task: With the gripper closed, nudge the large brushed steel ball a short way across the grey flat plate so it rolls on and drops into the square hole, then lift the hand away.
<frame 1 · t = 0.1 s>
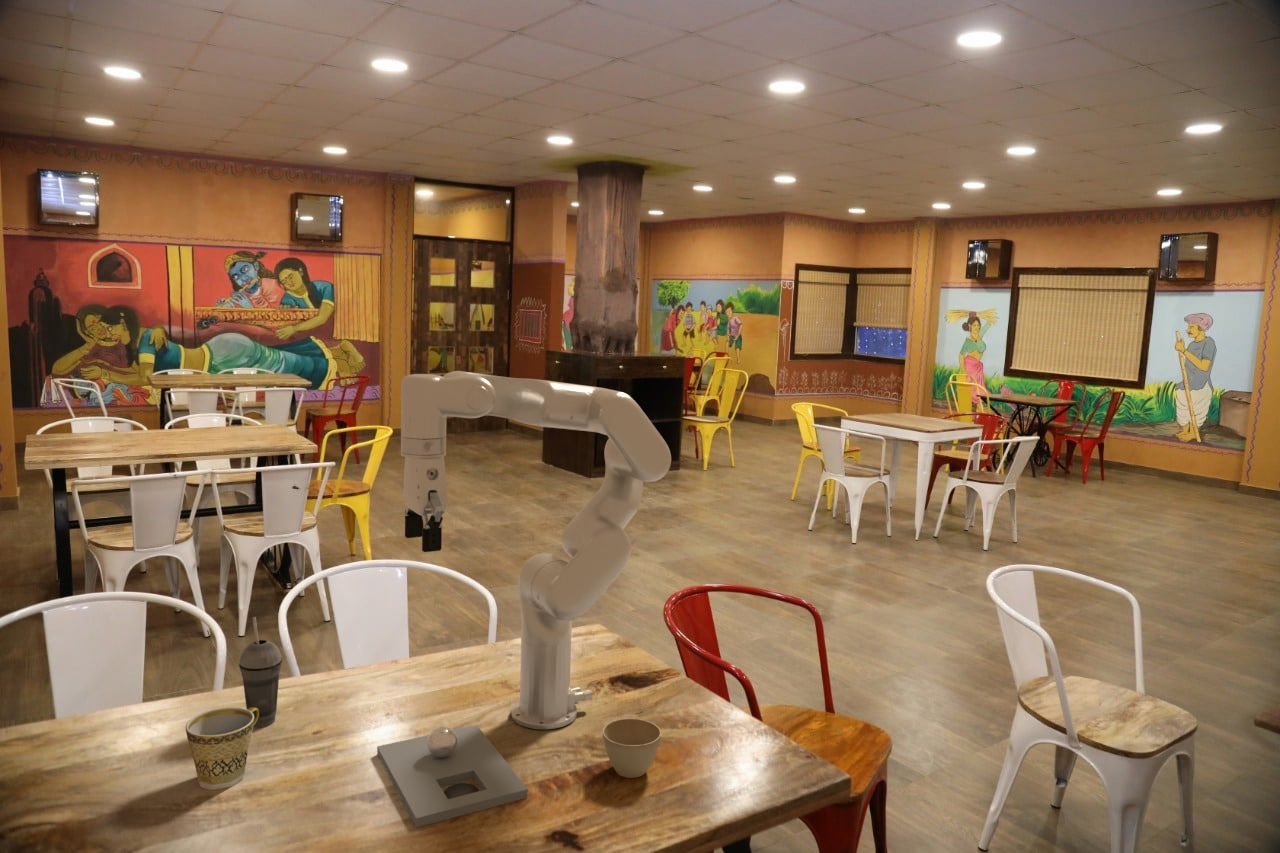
hand: (422, 543, 151), 37 cm above the table, tool pointing down, fingers open, 9 cm apart
flower pot: (630, 771, 149), on the table
ceramic cup: (229, 775, 143), on the table
beverage cup: (262, 722, 161), on the table
grey flat plate: (449, 775, 145), on the table
ball: (442, 742, 148), point 4 cm above the table, touching grey flat plate
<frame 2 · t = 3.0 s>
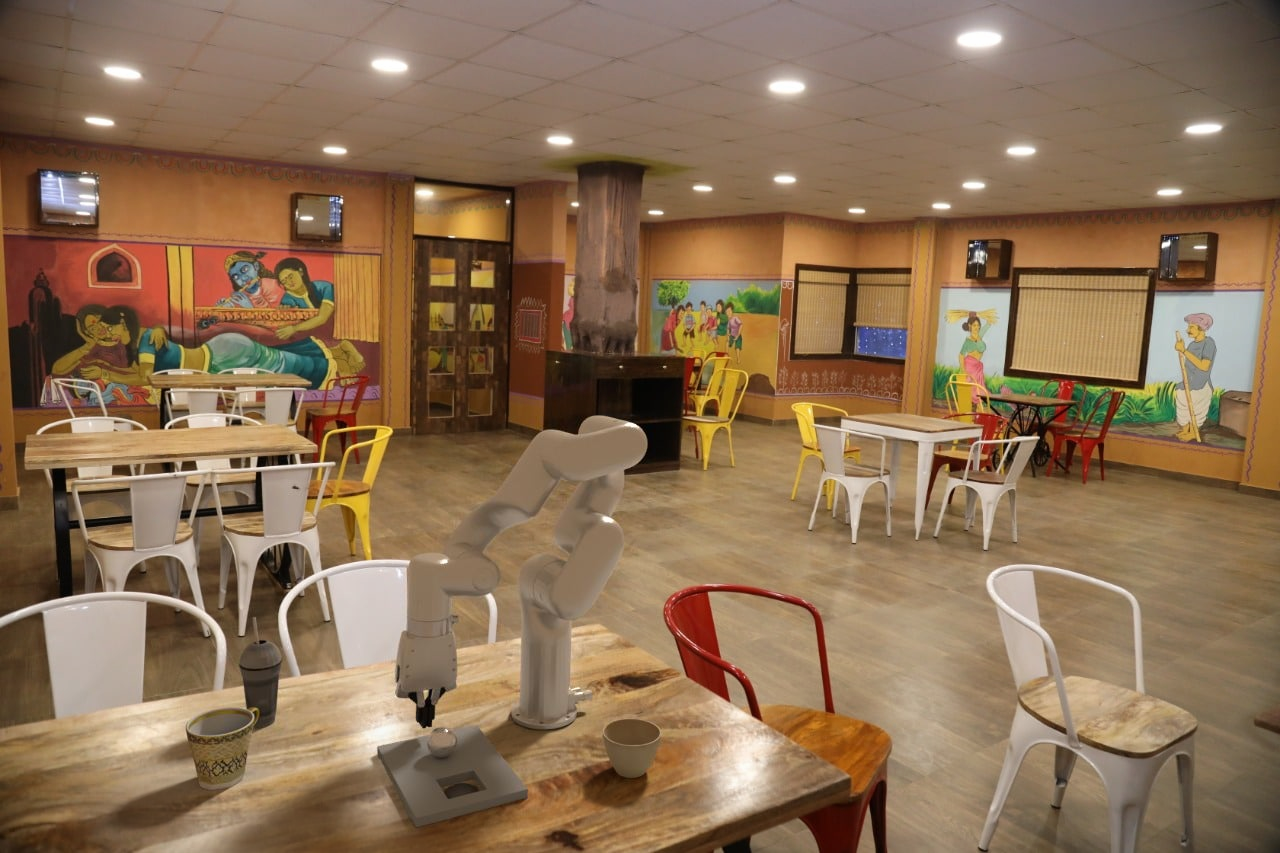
hand: (424, 724, 154), 4 cm above the table, tool pointing down, fingers closed
nothing on the table moved.
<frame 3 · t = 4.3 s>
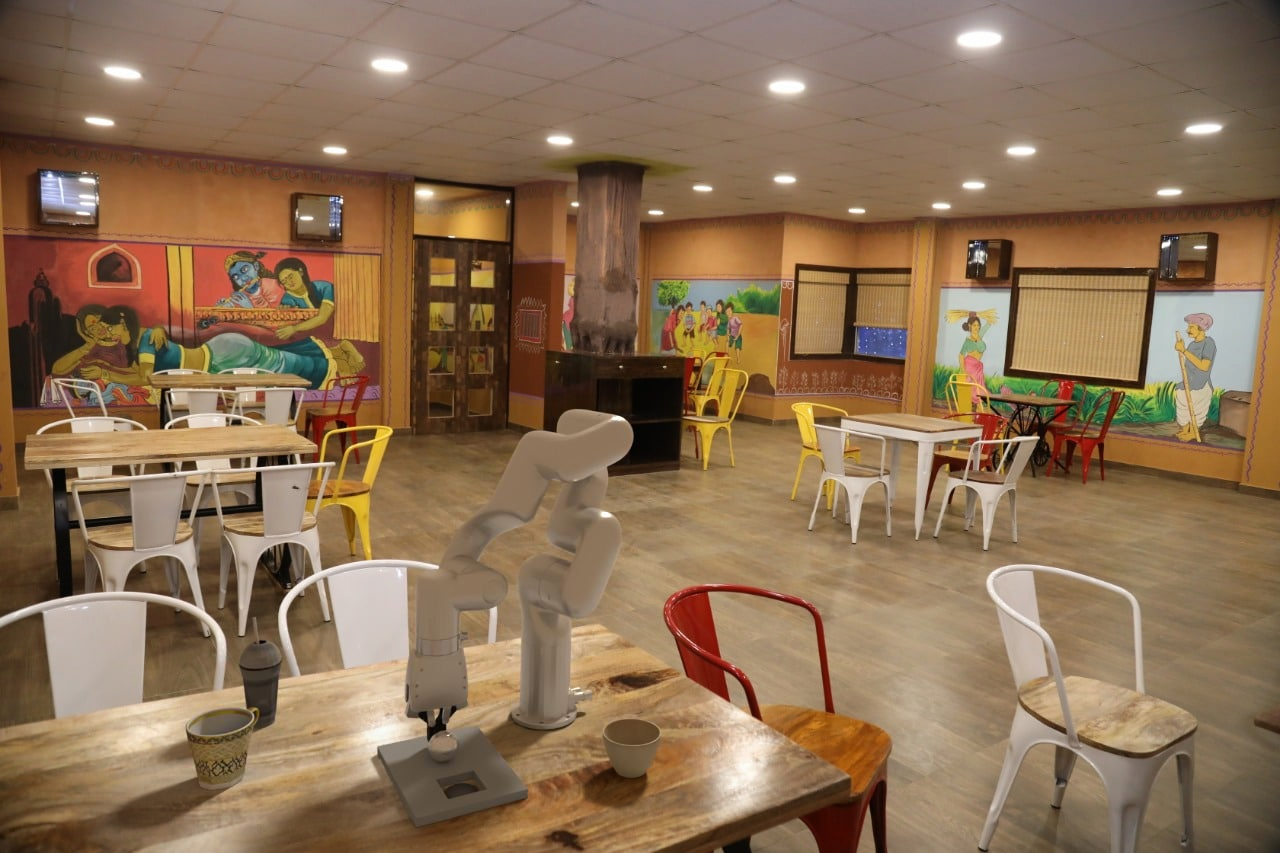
hand: (436, 743, 150), 2 cm above the table, tool pointing down, fingers closed
ball: (443, 746, 146), point 4 cm above the table, tilted 31°, touching grey flat plate
everything else where it was.
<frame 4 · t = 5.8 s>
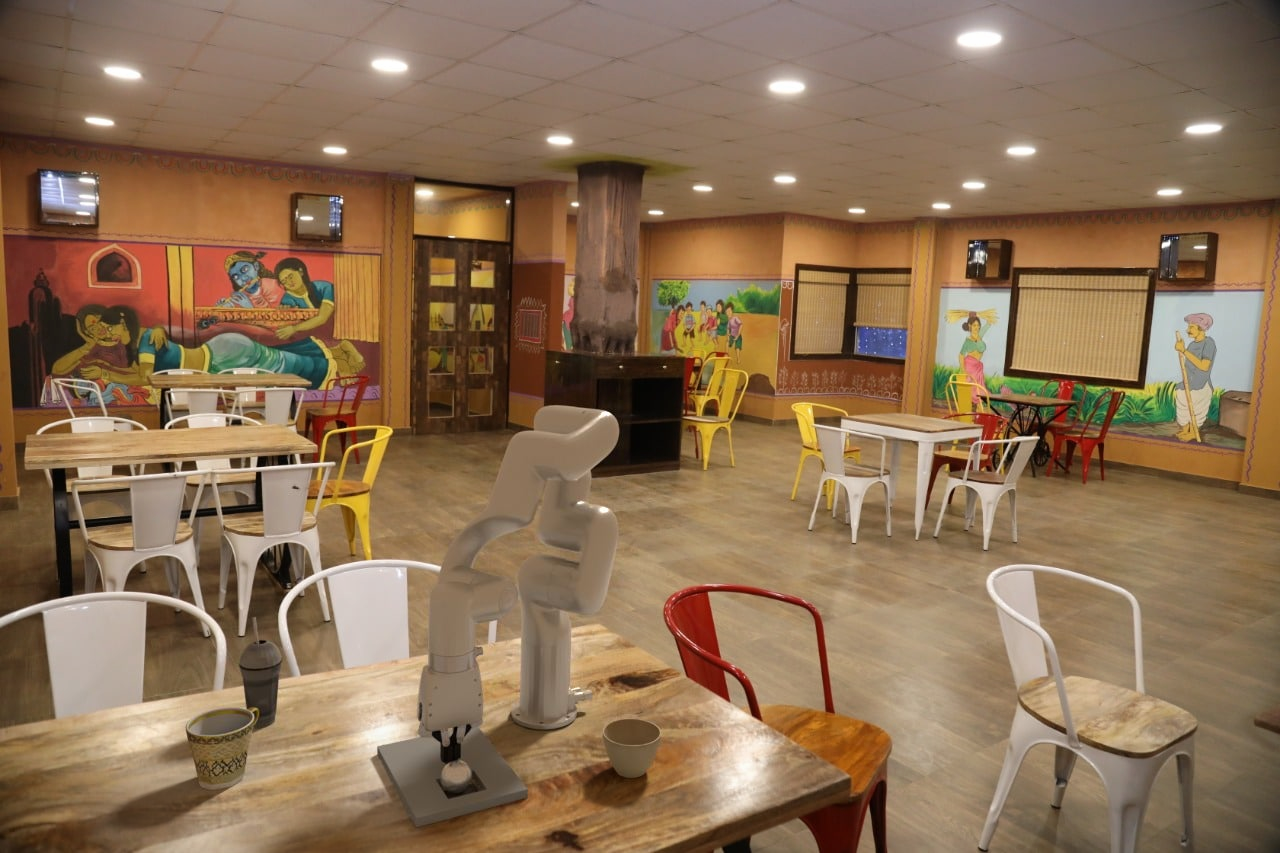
hand: (450, 763, 144), 2 cm above the table, tool pointing down, fingers closed
ball: (456, 776, 140), point 3 cm above the table, tilted 138°, touching grey flat plate
everything else where it was.
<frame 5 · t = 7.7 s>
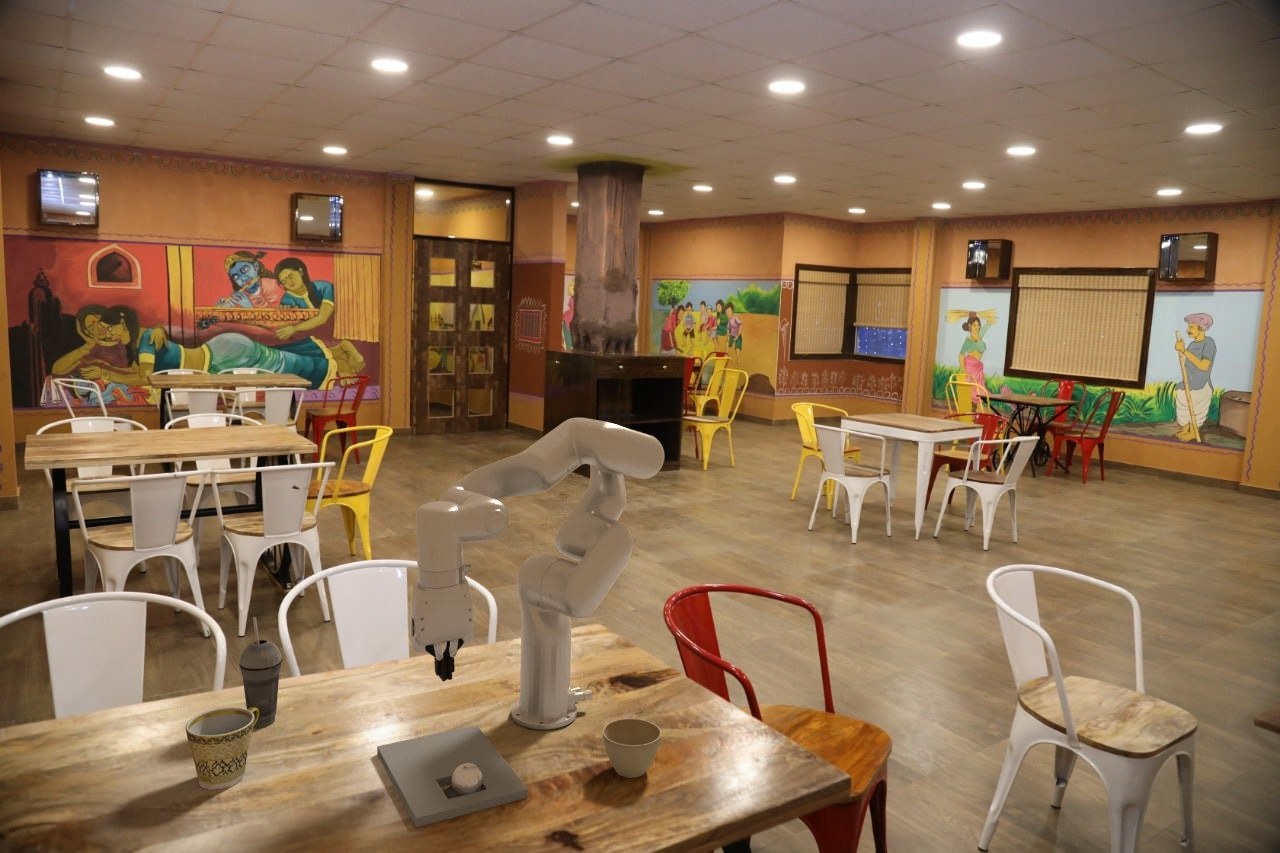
hand: (445, 677, 149), 14 cm above the table, tool pointing down, fingers closed
ball: (467, 779, 139), point 3 cm above the table, tilted 97°, touching grey flat plate
everything else where it was.
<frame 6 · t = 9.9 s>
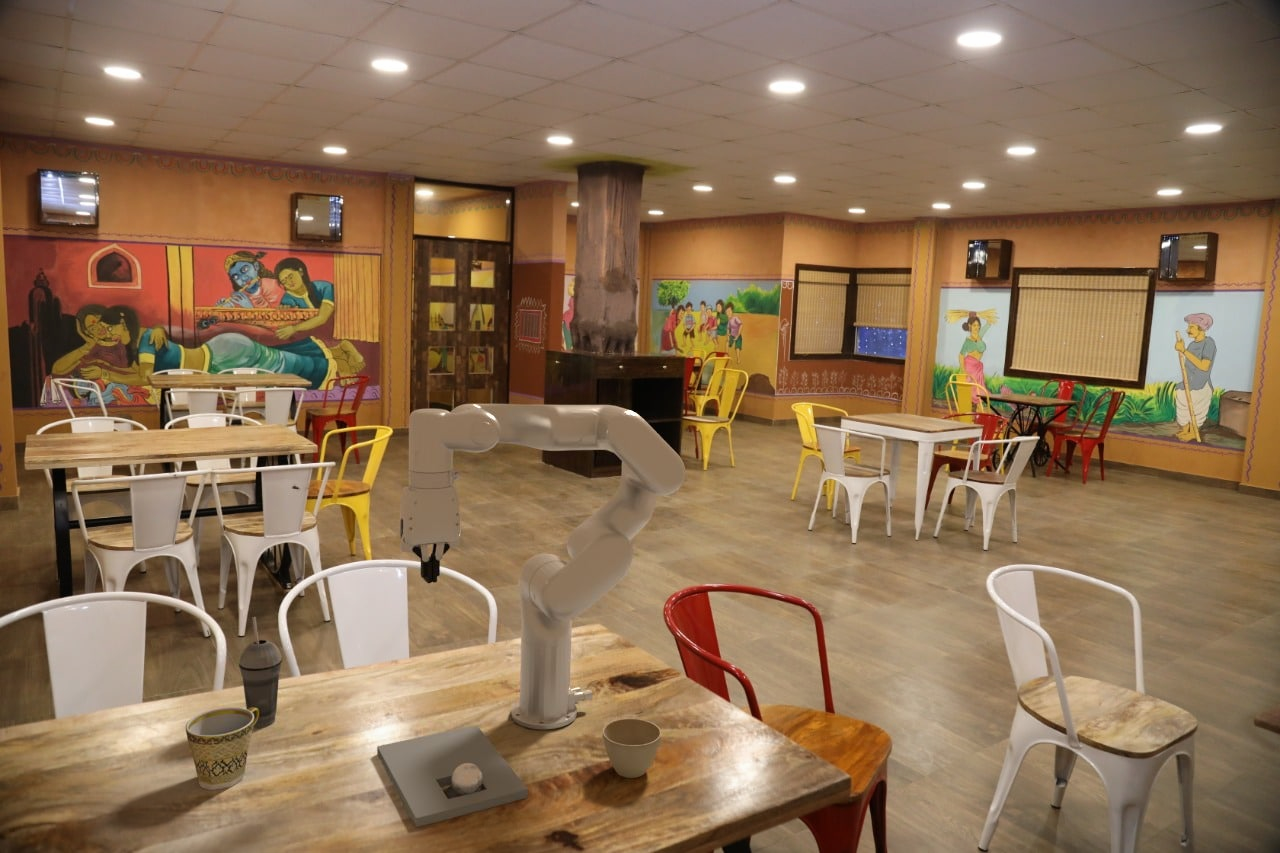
hand: (430, 580, 154), 29 cm above the table, tool pointing down, fingers closed
nothing on the table moved.
at the end: ball 1.1 cm from the target spot on the grey flat plate, point 2.6 cm above the grey flat plate's base; ball moved 11.0 cm from its start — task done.
